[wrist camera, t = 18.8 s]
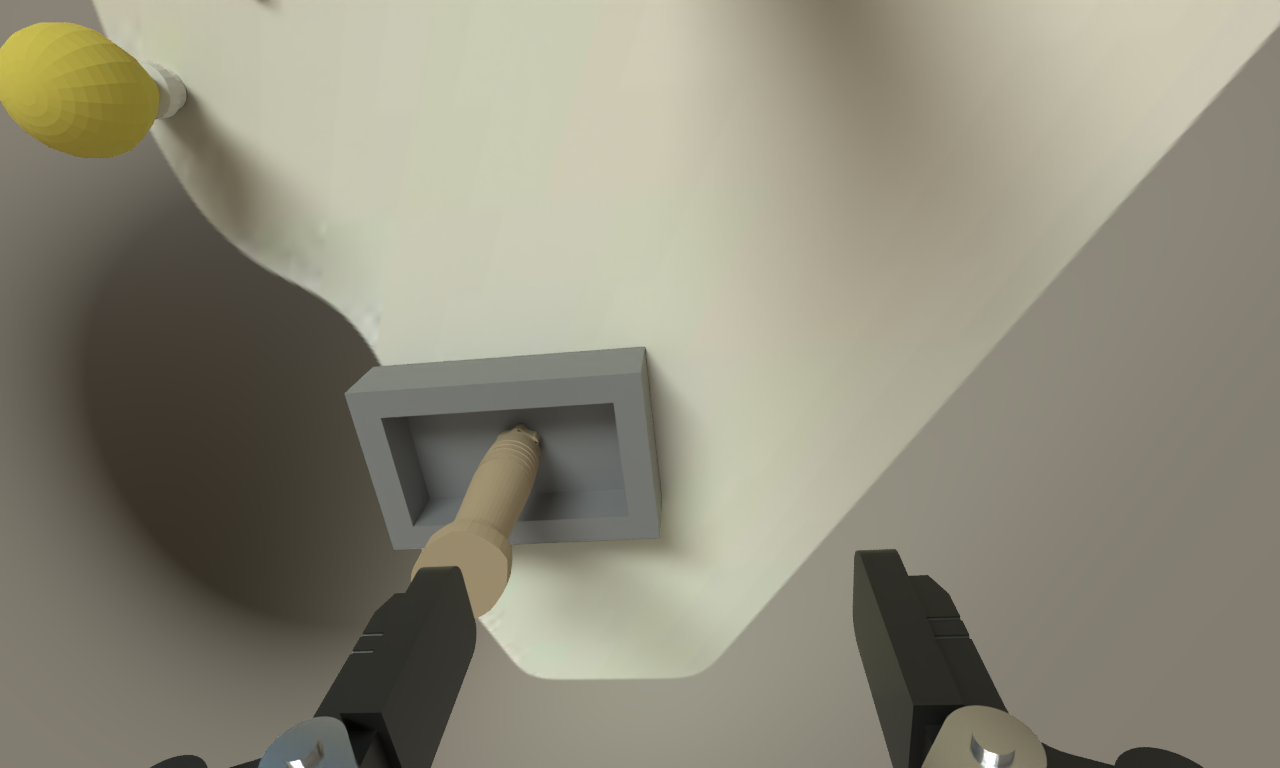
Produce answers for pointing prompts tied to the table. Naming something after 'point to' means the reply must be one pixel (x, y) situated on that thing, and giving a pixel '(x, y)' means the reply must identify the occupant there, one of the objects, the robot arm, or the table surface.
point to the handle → (488, 519)
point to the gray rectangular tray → (499, 400)
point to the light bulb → (83, 90)
